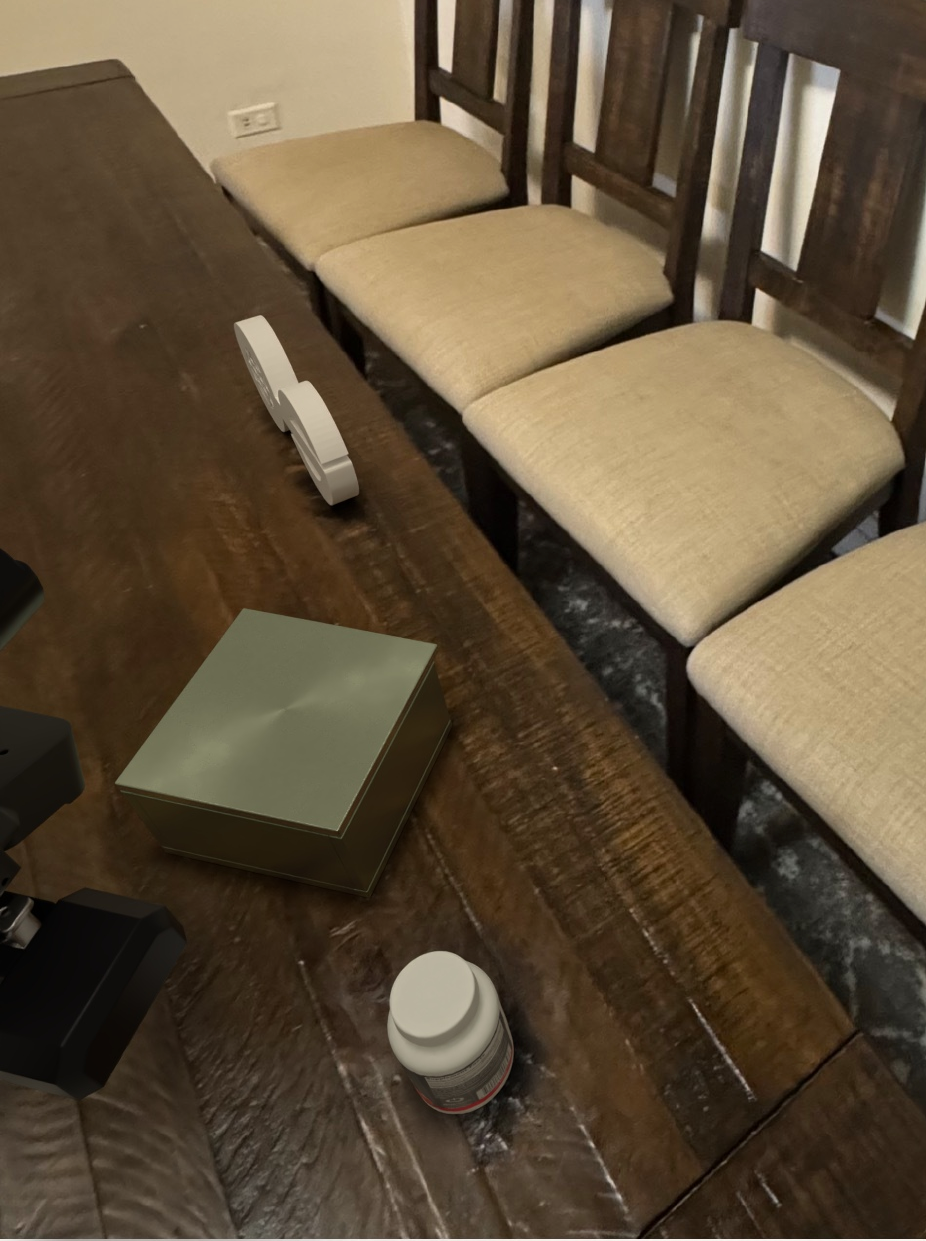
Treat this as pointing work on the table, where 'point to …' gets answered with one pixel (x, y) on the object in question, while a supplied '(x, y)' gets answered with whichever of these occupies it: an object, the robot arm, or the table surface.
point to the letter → (297, 410)
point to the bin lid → (283, 722)
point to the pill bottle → (449, 1032)
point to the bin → (313, 854)
